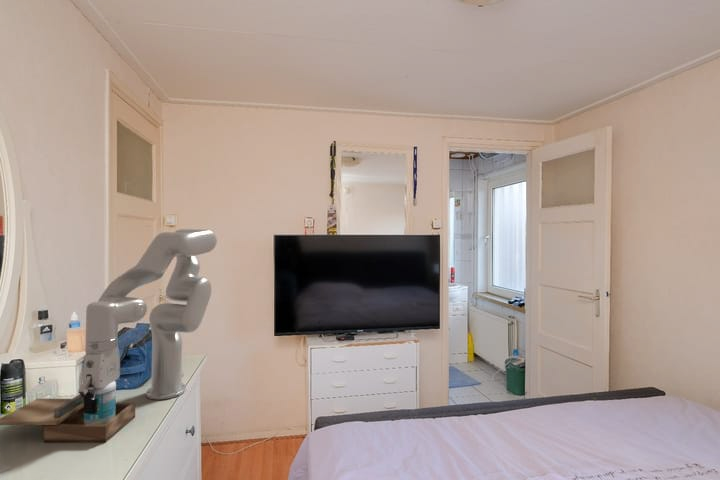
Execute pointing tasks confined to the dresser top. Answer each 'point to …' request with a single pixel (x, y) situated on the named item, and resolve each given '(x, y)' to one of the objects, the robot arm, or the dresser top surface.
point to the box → (89, 427)
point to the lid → (44, 412)
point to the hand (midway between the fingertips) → (100, 406)
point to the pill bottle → (103, 405)
